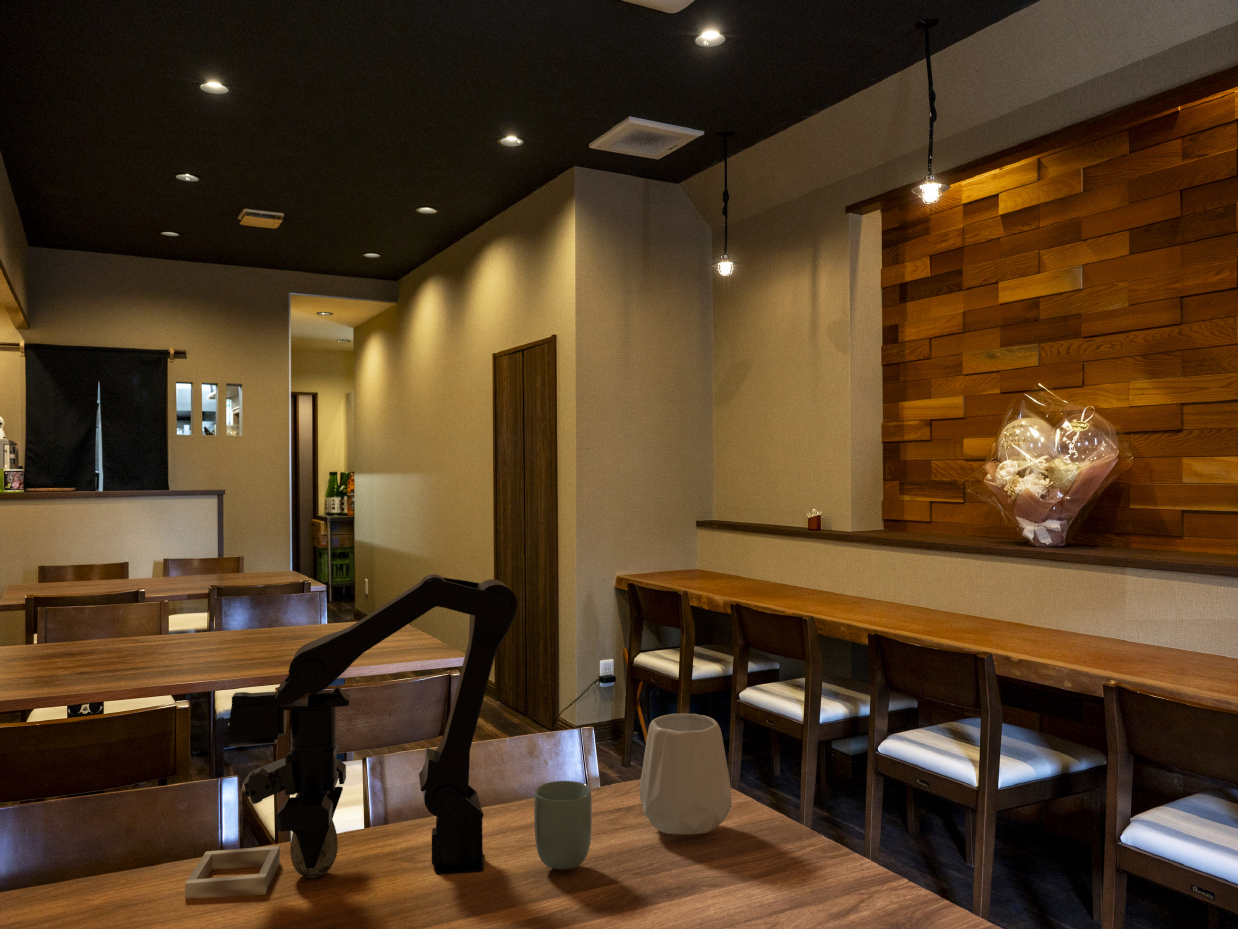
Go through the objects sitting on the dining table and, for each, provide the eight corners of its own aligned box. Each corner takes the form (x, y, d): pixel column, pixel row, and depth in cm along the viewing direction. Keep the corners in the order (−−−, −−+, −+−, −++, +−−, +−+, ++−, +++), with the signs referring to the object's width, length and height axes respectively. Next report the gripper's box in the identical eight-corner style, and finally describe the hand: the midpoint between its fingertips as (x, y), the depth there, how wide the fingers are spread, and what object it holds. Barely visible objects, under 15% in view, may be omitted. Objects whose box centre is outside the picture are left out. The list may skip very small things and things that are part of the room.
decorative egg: (346, 874, 120) (346, 799, 120) (307, 891, 115) (306, 813, 115) (321, 862, 123) (320, 789, 123) (281, 878, 119) (281, 802, 119)
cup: (584, 879, 118) (583, 803, 118) (527, 873, 120) (527, 799, 120) (597, 853, 126) (597, 782, 126) (544, 849, 127) (543, 778, 127)
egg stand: (279, 864, 123) (279, 845, 123) (265, 896, 114) (265, 877, 114) (206, 870, 121) (206, 851, 121) (185, 903, 112) (185, 883, 112)
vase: (671, 797, 147) (670, 704, 147) (748, 816, 139) (747, 718, 139) (621, 825, 136) (620, 725, 136) (701, 848, 127) (701, 741, 127)
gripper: (264, 723, 127) (265, 834, 127) (232, 767, 109) (232, 896, 109) (346, 719, 129) (346, 827, 129) (327, 761, 111) (328, 887, 111)
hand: (314, 857), depth 119 cm, fingers closed on decorative egg, 6 cm apart
